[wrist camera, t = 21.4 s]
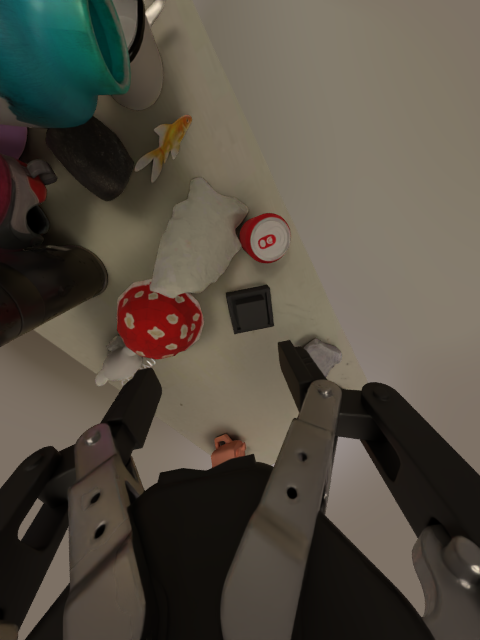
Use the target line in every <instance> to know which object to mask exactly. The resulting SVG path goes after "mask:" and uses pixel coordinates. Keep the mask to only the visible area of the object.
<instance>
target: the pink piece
mask: <svg viewBox="0 0 480 640" xmlns="http://www.w3.org/2000/svg"><path fill="white" fill-rule="evenodd" d="M214 440H215V446H216V450H215V451H214V452H213V453H212V455H211V460H212V468H213V467H215V466H217V465H219V464H221V463H223V462H225V461H227V460H229V459H231V458H236V457H241V456H245V452H244V450H246V444H245V442H244V443H242V441H240V440H234V441H232V440H231V439H230V437H229V436H228V435H227V434H224V435H222V436H220V437H217V438H215V439H214ZM223 440H224V441H225V443H226V444H224V445H222V446H220V443H219V442H220V441H223Z"/></svg>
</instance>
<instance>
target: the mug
mask: <svg viewBox="0 0 480 640" xmlns="http://www.w3.org/2000/svg"><path fill="white" fill-rule="evenodd" d="M112 1H113V4H114V6H115V9H116V11H117V14H118V17H119V20H120V23H121V26H122V29H123V33H124V36H125V40H126V44H127V49H128V54H129V60H130V68H131V83H130V88H129V91H128V92H127V93H126V94H122V95H111V96H112V97H113V98H114V99H115V100H116V101H117V102H118V103H119V104H121V105H123V106H124V107H126V108H129V109H132V110H144V109H147V108H149V107H150V106H152V105H153V104H154V103H155V102H156V100H157V99H158V97H159V95H160V92H161V89H162V84H163V66H162V61H161V56H160V53H159V50H158V48H157V45H156V42H155V39H154V36H153V34H152V31H151V26H152V25H153V23H154V22H155V20H156V19H157V17H158V16H159V14H160V13H161V12H162V10H163V8H164V5H165V0H155V1H154V2H153V3H152V5H151V6H150V7H149V8H148V9H147V11H146V12H145V4H144V0H112Z"/></svg>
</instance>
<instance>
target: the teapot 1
mask: <svg viewBox="0 0 480 640" xmlns="http://www.w3.org/2000/svg"><path fill="white" fill-rule="evenodd" d="M26 140H27V127H20V126H10V125H2V124H0V153H1V154H4V155H7V156H10V157H13V158H15V159H19V157H20V156H21V154H22V152H23V150H24V148H25V144H26Z"/></svg>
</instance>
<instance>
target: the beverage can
mask: <svg viewBox="0 0 480 640" xmlns="http://www.w3.org/2000/svg"><path fill="white" fill-rule="evenodd" d="M239 240H240V243H241V245H242V248H243V249H244V250H245V251H246V252H247V253H248V254H249V255H250V256H251V257H252V258H253V259H255V260H256V261H258V262H261V263H272V262H275V261H277V260H279V259H280V258H281V257H282V256H283V255H284V254H285V253H286V251H287V250H288V248H289V245H290V240H291V233H290V229H289V226H288V224H287V222H286V221H285V220H284V219H283V218H282V217H280V216H279V215H276V214H273V213H266V214H262V215H259V216H257V217H254V218H251V219H249V220H248V221H246V222H245V223H244V224H243V226H242V228H241V230H240V234H239Z"/></svg>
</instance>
